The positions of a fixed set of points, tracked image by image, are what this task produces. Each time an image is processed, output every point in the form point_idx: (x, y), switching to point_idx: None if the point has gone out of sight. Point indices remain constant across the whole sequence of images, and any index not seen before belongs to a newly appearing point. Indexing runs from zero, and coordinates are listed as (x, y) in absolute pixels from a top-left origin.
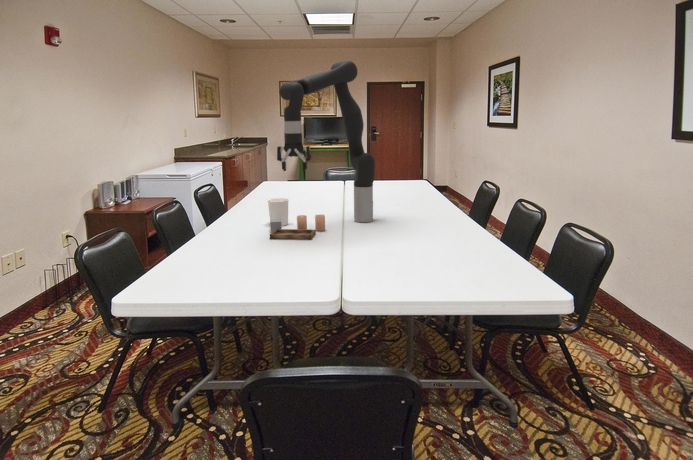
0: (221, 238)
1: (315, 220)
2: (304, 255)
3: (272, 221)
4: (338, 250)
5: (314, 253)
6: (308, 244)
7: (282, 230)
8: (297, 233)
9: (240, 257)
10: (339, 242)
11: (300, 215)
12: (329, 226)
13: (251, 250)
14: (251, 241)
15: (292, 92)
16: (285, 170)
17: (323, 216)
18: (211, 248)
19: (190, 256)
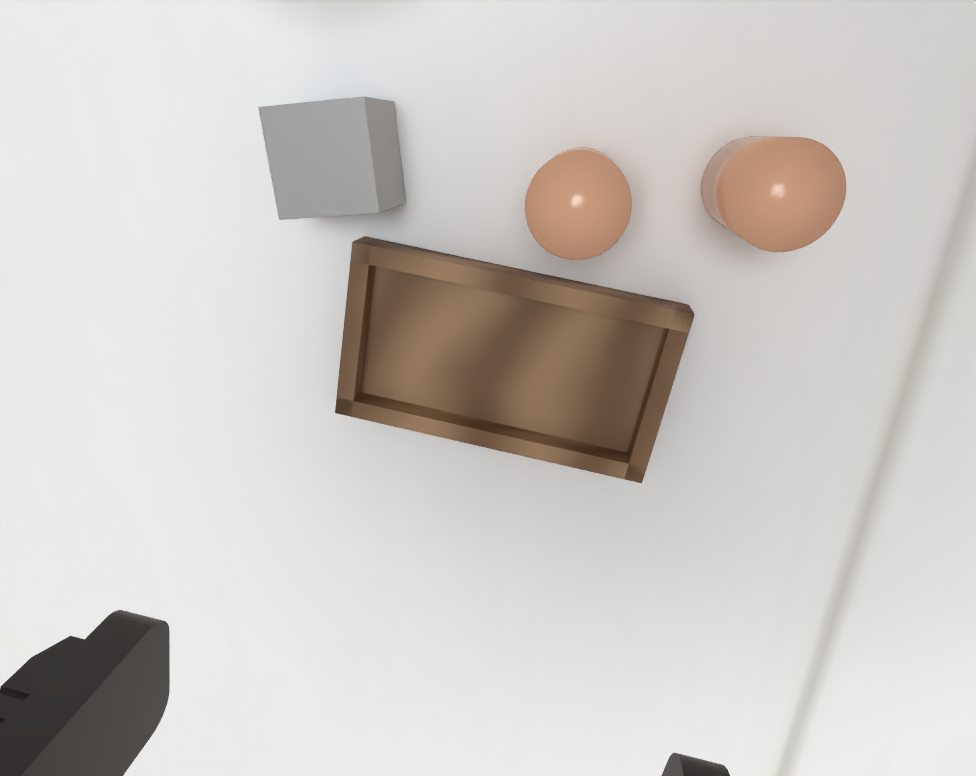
0: (19, 327)
1: (720, 208)
2: (578, 736)
3: (296, 192)
4: (782, 701)
5: (634, 719)
6: (611, 561)
7: (412, 272)
8: (538, 312)
9: (263, 699)
10: (830, 556)
11: (565, 161)
12: (872, 11)
13: (286, 608)
14: (237, 432)
15: None
16: (162, 687)
17: (819, 236)
18: (60, 533)
19: (25, 639)
